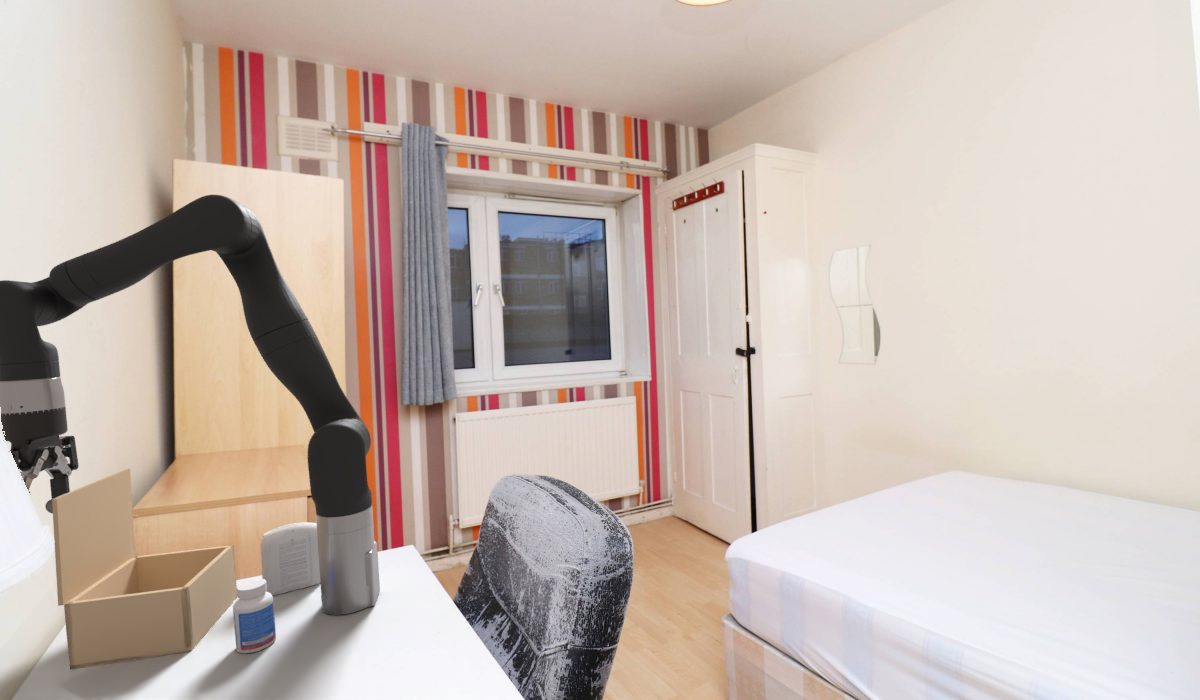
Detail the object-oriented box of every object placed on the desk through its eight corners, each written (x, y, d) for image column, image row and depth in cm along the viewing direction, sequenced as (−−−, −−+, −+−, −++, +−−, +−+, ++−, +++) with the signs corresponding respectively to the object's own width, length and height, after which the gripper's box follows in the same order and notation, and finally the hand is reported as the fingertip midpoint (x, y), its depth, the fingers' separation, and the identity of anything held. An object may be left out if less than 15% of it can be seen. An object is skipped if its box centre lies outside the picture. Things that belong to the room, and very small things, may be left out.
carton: (237, 597, 105) (233, 544, 105) (191, 651, 88) (186, 588, 87) (138, 610, 101) (134, 556, 101) (69, 669, 84) (63, 604, 83)
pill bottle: (283, 638, 90) (279, 579, 90) (250, 657, 85) (246, 595, 85) (261, 632, 92) (257, 574, 92) (228, 650, 87) (223, 589, 87)
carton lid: (130, 468, 100) (89, 471, 99) (56, 499, 82) (5, 502, 81) (134, 556, 101) (94, 559, 100) (63, 605, 83) (12, 610, 82)
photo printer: (322, 576, 113) (318, 515, 112) (325, 583, 109) (321, 521, 109) (262, 591, 107) (258, 527, 106) (264, 600, 104) (259, 534, 103)
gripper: (26, 412, 83) (37, 519, 84) (89, 400, 97) (98, 492, 98) (-36, 416, 81) (-25, 526, 82) (37, 403, 95) (46, 497, 96)
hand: (42, 507), depth 90 cm, fingers open, 8 cm apart
